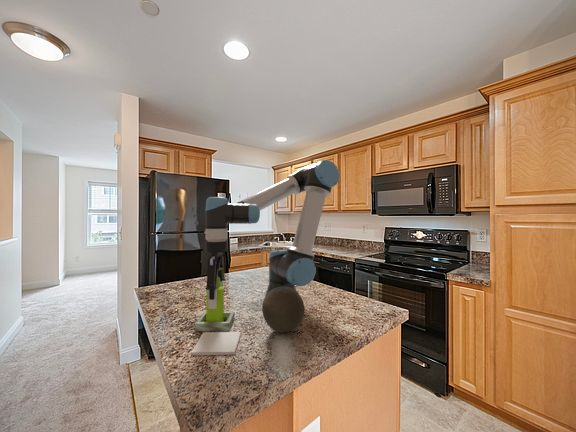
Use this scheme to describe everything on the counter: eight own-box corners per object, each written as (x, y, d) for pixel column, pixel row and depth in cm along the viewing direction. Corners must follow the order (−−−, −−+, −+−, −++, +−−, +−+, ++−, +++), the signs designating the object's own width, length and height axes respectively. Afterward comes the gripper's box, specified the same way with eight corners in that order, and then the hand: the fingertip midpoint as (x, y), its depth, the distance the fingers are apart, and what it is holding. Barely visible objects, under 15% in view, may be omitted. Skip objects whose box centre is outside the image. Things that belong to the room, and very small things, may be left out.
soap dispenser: (228, 321, 92) (228, 267, 92) (217, 329, 85) (217, 270, 85) (214, 319, 94) (215, 266, 94) (202, 327, 87) (203, 269, 87)
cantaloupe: (264, 322, 91) (265, 281, 91) (303, 323, 91) (304, 282, 91) (259, 342, 77) (259, 293, 77) (305, 343, 77) (305, 294, 77)
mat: (240, 334, 82) (240, 331, 82) (234, 354, 70) (234, 351, 70) (203, 334, 82) (203, 332, 82) (191, 355, 70) (191, 352, 70)
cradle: (234, 318, 95) (234, 311, 95) (229, 330, 85) (229, 323, 85) (203, 318, 95) (203, 311, 95) (194, 331, 84) (194, 323, 84)
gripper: (213, 237, 100) (213, 294, 100) (196, 243, 79) (195, 315, 79) (232, 237, 101) (231, 293, 101) (220, 243, 79) (219, 315, 79)
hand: (215, 303), depth 90 cm, fingers open, 9 cm apart
